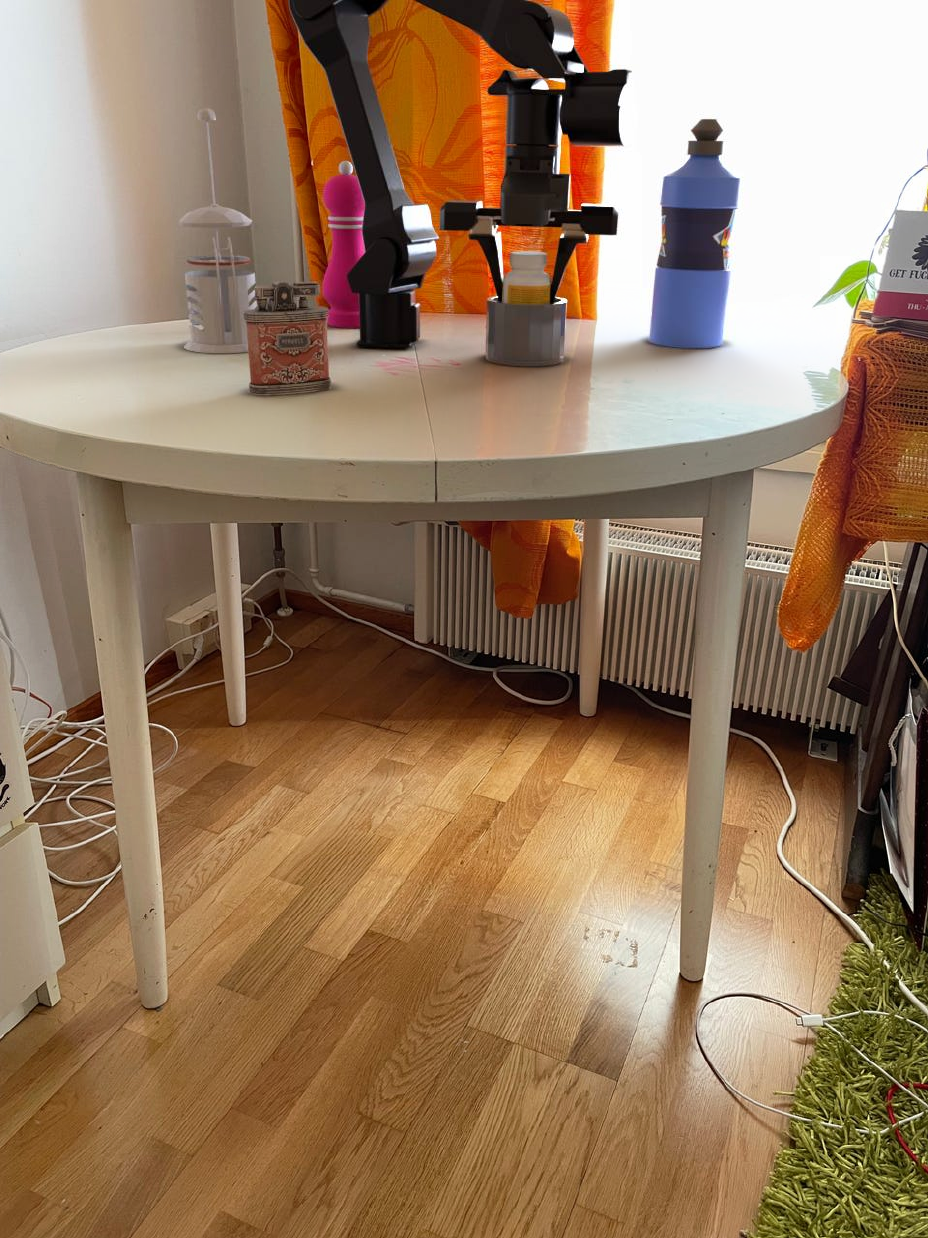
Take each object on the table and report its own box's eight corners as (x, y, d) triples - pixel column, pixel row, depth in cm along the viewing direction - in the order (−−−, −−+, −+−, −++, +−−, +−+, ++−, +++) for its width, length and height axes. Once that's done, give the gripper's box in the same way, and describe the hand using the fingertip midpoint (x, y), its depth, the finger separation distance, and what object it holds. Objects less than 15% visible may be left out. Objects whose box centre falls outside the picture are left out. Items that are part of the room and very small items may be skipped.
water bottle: (640, 344, 122) (660, 117, 111) (656, 333, 130) (676, 120, 119) (716, 350, 119) (744, 117, 108) (728, 339, 127) (755, 120, 116)
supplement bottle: (492, 340, 112) (494, 251, 108) (533, 337, 115) (537, 249, 110) (514, 348, 108) (518, 255, 104) (557, 345, 110) (562, 254, 106)
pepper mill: (368, 329, 129) (364, 160, 120) (316, 327, 130) (308, 159, 122) (384, 321, 135) (381, 161, 127) (333, 319, 137) (327, 160, 128)
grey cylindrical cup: (481, 364, 109) (482, 303, 106) (490, 350, 116) (491, 293, 114) (561, 367, 108) (565, 305, 105) (565, 353, 115) (568, 295, 113)
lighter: (255, 397, 92) (247, 284, 88) (245, 389, 95) (236, 280, 91) (336, 389, 96) (332, 281, 92) (324, 382, 99) (319, 277, 94)
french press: (262, 337, 122) (246, 110, 112) (276, 353, 112) (260, 106, 102) (180, 340, 120) (156, 108, 109) (187, 357, 110) (161, 103, 99)
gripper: (431, 142, 97) (431, 308, 103) (624, 146, 94) (610, 315, 101) (448, 144, 107) (446, 295, 113) (623, 147, 104) (610, 301, 111)
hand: (525, 301), depth 109 cm, fingers closed on supplement bottle, 5 cm apart
